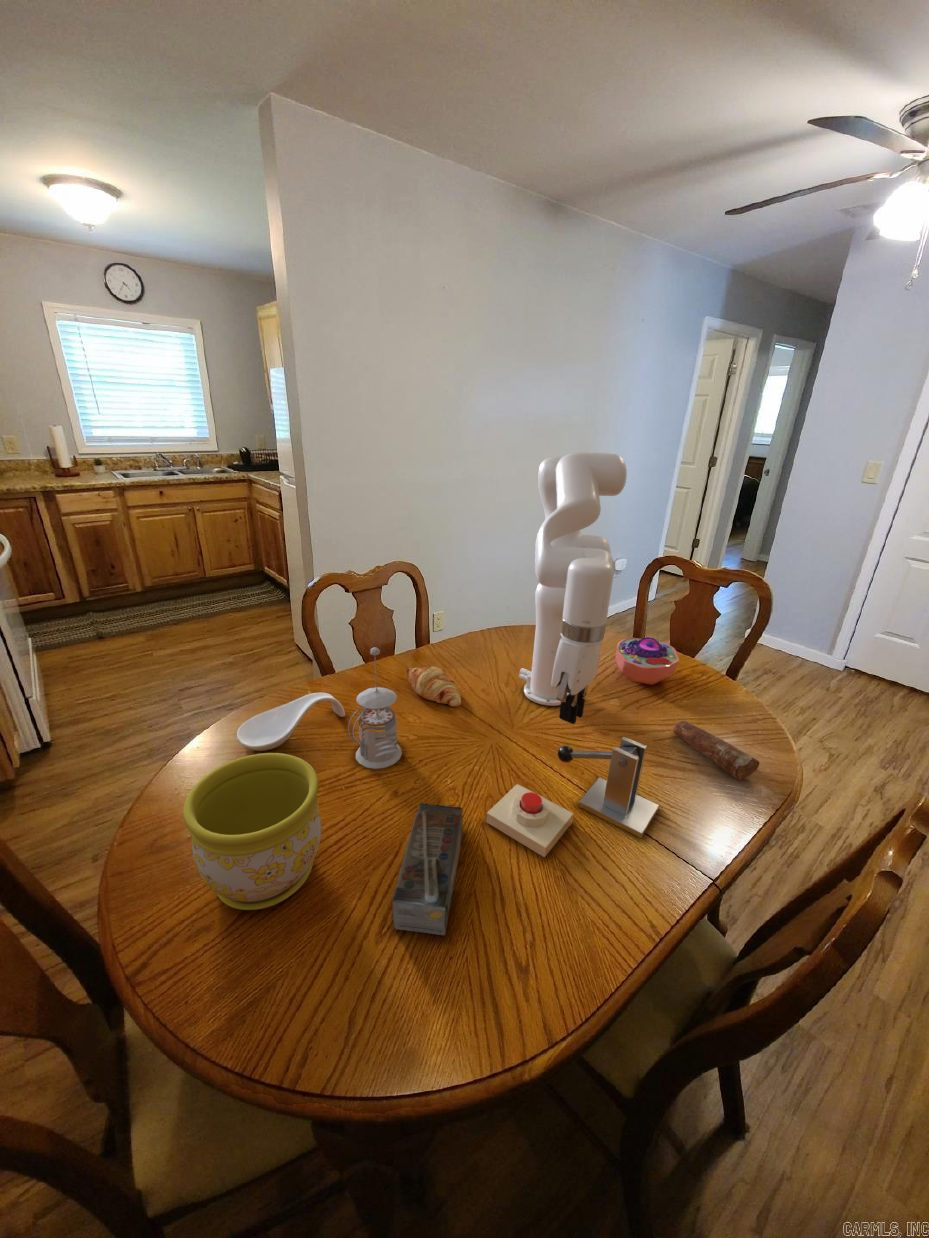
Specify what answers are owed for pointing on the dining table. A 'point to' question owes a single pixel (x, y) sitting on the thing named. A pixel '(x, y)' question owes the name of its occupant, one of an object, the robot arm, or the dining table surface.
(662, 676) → the cell model
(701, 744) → the salami
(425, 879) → the grey printed box
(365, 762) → the french press
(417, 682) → the croissant
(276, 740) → the spoon rest
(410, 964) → the dining table surface
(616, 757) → the bracket
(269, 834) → the flowerpot
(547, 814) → the button block
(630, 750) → the lever
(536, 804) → the button
